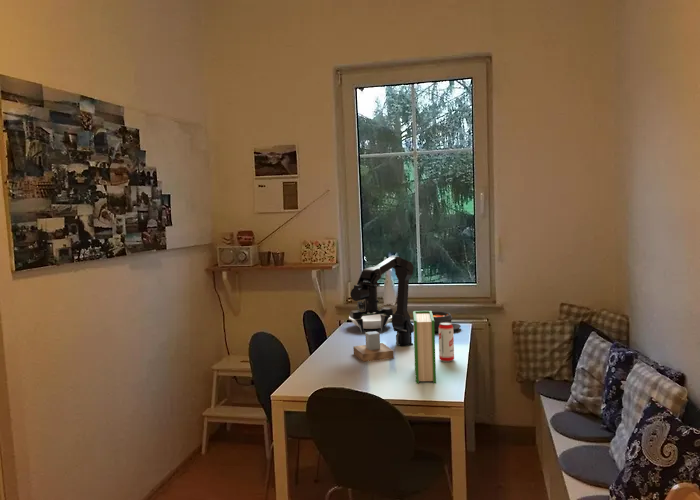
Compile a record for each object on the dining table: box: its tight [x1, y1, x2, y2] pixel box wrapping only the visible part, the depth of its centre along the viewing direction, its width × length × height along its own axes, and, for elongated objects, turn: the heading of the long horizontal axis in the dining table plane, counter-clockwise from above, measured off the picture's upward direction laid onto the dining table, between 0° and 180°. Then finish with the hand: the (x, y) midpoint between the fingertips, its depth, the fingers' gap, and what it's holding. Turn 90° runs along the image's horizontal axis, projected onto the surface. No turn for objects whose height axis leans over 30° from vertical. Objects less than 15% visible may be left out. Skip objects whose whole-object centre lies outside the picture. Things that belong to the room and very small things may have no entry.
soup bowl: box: [348, 312, 392, 330], centre depth 305 cm, size 24×24×7 cm
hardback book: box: [412, 310, 437, 385], centre depth 221 cm, size 18×7×24 cm, turn 175°
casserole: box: [412, 310, 461, 333], centre depth 296 cm, size 25×19×8 cm
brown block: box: [352, 342, 395, 363], centre depth 253 cm, size 14×14×4 cm
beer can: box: [438, 322, 455, 363], centre depth 240 cm, size 6×6×16 cm
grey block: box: [364, 330, 381, 350], centre depth 252 cm, size 5×5×7 cm
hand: (372, 332), depth 252 cm, fingers open, 9 cm apart
